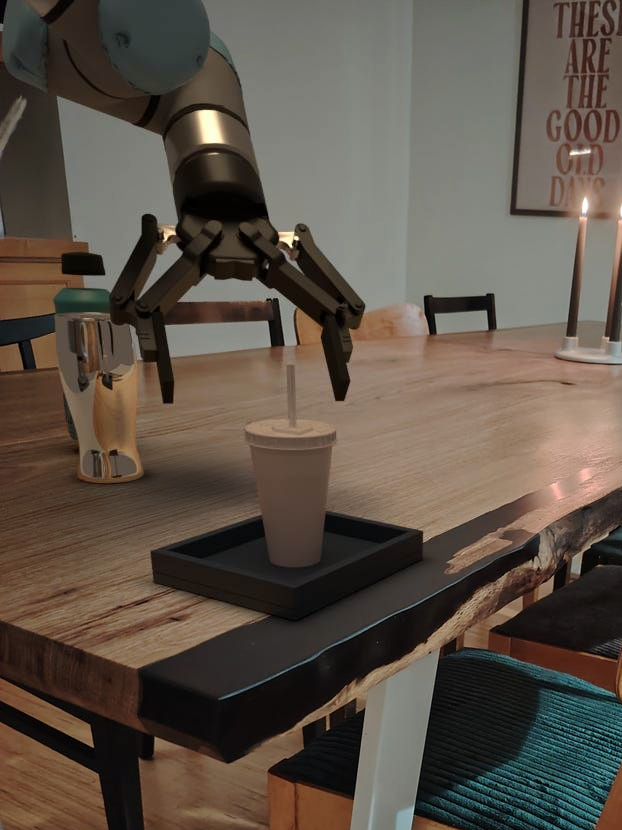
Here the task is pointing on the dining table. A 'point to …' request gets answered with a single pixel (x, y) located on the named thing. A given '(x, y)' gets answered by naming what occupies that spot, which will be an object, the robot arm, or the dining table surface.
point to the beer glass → (100, 393)
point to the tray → (286, 586)
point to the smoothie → (292, 481)
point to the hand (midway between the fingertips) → (259, 392)
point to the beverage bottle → (81, 298)
